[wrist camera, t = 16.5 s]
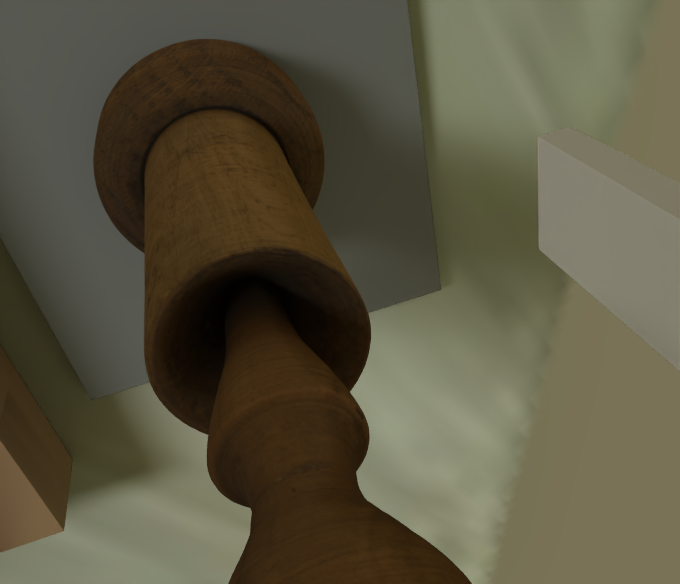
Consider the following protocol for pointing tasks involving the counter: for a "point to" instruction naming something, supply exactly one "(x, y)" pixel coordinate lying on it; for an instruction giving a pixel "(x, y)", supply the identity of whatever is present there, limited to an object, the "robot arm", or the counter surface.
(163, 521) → the counter surface
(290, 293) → the wooden pepper mill
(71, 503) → the counter surface
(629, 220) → the robot arm
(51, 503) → the collar block
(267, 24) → the mat
